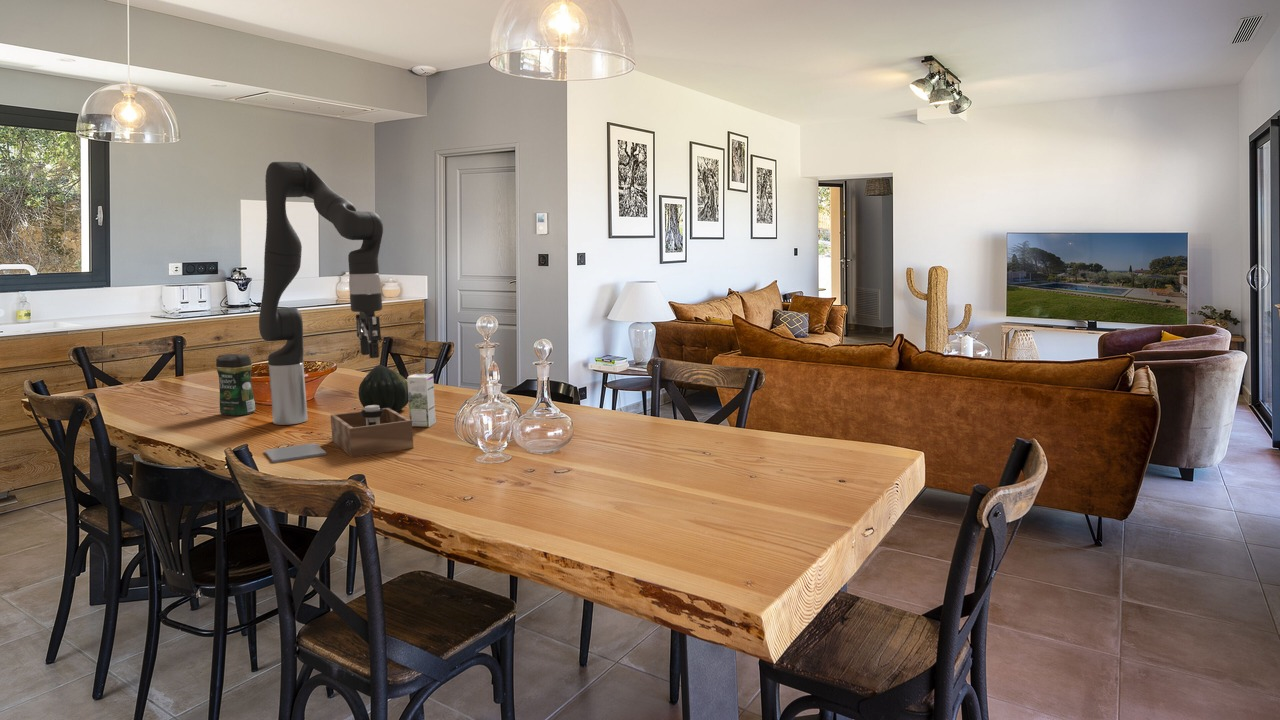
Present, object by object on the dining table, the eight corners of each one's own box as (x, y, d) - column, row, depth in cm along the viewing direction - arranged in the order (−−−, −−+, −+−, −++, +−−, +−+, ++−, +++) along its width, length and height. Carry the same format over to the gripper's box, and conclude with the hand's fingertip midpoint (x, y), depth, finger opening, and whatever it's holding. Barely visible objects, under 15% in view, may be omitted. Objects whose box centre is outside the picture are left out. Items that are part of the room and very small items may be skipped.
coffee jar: (215, 415, 241) (209, 355, 238) (235, 410, 248) (230, 351, 246) (240, 417, 238) (235, 356, 235) (260, 411, 246) (255, 352, 243)
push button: (354, 446, 201) (351, 407, 199) (367, 441, 206) (364, 403, 204) (377, 447, 199) (374, 408, 197) (389, 442, 204) (387, 404, 202)
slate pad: (264, 452, 196) (264, 449, 196) (315, 445, 202) (315, 442, 202) (273, 462, 186) (272, 460, 186) (326, 454, 192) (326, 452, 192)
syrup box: (436, 423, 226) (433, 373, 224) (429, 427, 220) (426, 376, 218) (417, 422, 227) (414, 373, 225) (409, 427, 221) (406, 376, 219)
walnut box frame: (332, 441, 206) (330, 414, 205) (389, 433, 215) (388, 407, 214) (351, 457, 190) (349, 428, 189) (413, 447, 198) (411, 420, 197)
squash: (399, 399, 234) (404, 357, 242) (348, 402, 234) (355, 360, 242) (411, 422, 246) (416, 381, 254) (363, 425, 245) (370, 384, 254)
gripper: (343, 292, 202) (348, 355, 204) (356, 293, 190) (361, 360, 192) (373, 290, 206) (377, 352, 208) (388, 292, 194) (392, 357, 196)
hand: (370, 356), depth 200 cm, fingers open, 8 cm apart
